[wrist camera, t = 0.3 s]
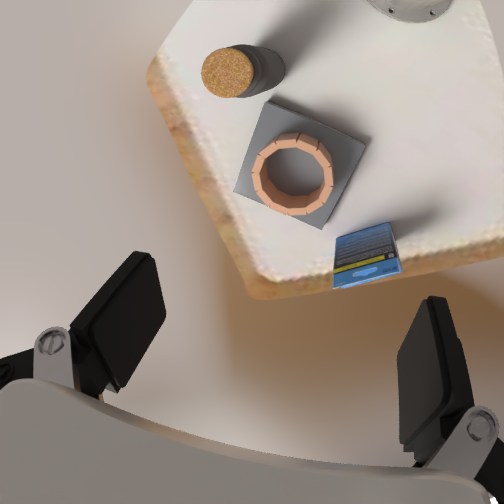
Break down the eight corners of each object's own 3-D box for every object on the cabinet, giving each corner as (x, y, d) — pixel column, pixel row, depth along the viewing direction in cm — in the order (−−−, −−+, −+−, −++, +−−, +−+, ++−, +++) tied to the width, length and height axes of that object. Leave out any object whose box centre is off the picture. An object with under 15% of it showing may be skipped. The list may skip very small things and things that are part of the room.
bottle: (264, 98, 38) (228, 116, 26) (232, 70, 37) (183, 76, 25) (294, 69, 35) (273, 70, 23) (261, 40, 34) (223, 29, 22)
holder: (267, 100, 38) (257, 106, 34) (364, 143, 38) (368, 154, 34) (236, 187, 47) (224, 203, 42) (322, 225, 47) (319, 244, 42)
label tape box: (343, 257, 49) (341, 311, 39) (334, 236, 47) (331, 287, 37) (395, 241, 45) (407, 294, 35) (388, 219, 43) (400, 268, 33)
